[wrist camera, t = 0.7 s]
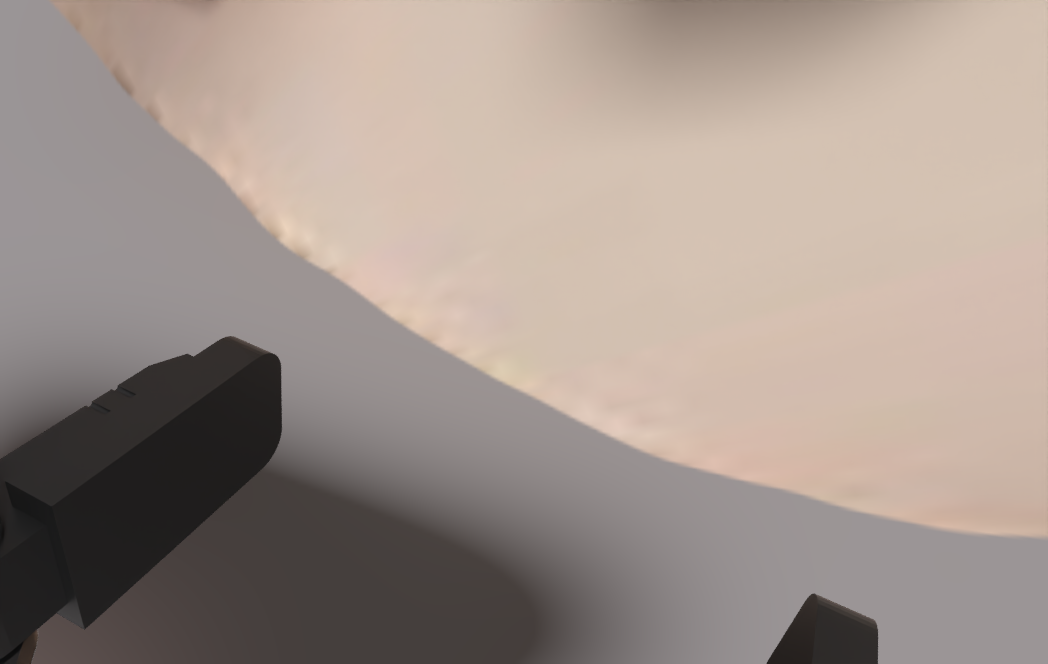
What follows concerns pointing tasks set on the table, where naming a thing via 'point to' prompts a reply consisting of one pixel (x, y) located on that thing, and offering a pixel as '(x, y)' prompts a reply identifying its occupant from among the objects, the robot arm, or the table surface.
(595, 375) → the table surface
